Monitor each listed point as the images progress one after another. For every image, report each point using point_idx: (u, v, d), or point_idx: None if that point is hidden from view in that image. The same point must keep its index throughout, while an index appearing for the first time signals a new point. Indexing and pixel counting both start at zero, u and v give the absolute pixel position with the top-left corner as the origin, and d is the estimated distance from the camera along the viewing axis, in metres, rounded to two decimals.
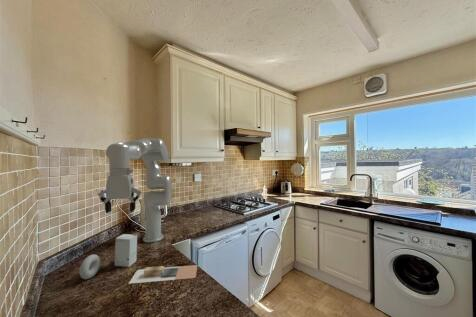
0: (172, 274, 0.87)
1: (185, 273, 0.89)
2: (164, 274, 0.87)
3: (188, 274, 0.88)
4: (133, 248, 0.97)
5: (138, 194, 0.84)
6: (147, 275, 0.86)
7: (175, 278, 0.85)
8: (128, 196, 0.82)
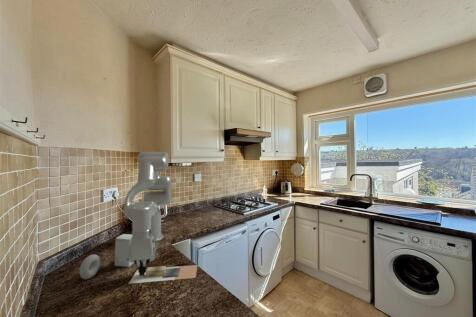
0: (174, 274, 0.87)
1: (185, 273, 0.89)
2: (166, 274, 0.87)
3: (188, 274, 0.88)
4: None
5: (151, 259, 0.87)
6: (149, 275, 0.86)
7: (175, 278, 0.85)
8: (150, 257, 0.85)
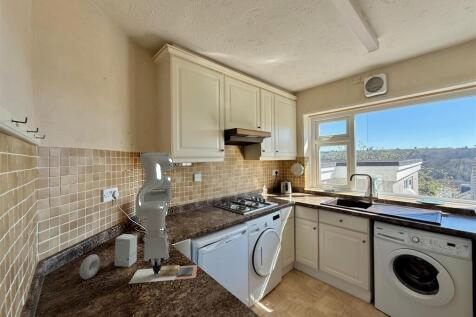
0: (188, 273, 0.87)
1: None
2: (180, 273, 0.87)
3: None
4: (133, 248, 0.97)
5: (165, 258, 0.87)
6: (163, 274, 0.87)
7: (175, 278, 0.85)
8: (165, 256, 0.86)
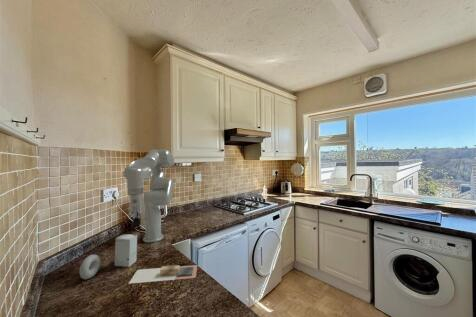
0: (188, 273, 0.87)
1: None
2: (180, 273, 0.87)
3: None
4: (133, 248, 0.97)
5: (134, 216, 0.98)
6: (163, 274, 0.87)
7: (175, 278, 0.85)
8: None
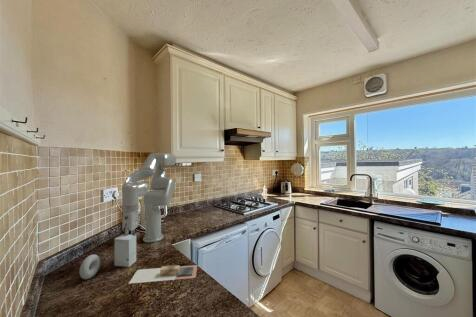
0: (188, 273, 0.87)
1: None
2: (180, 273, 0.87)
3: None
4: (132, 248, 0.96)
5: None
6: (163, 274, 0.87)
7: (175, 278, 0.85)
8: None
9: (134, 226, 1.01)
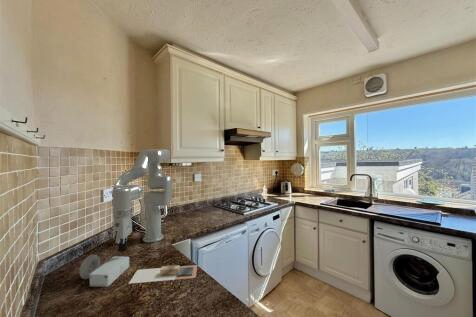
0: (188, 273, 0.87)
1: None
2: (180, 273, 0.87)
3: None
4: (116, 274, 0.85)
5: None
6: (163, 274, 0.87)
7: (175, 278, 0.85)
8: None
9: (126, 234, 0.92)
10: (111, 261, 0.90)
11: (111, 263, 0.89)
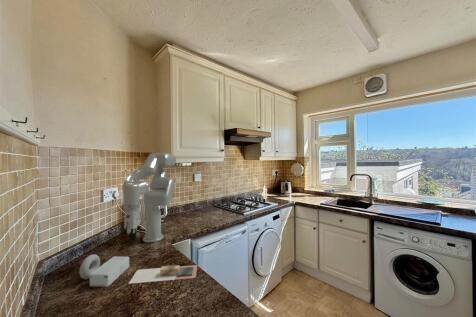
0: (188, 273, 0.87)
1: None
2: (180, 273, 0.87)
3: None
4: (116, 274, 0.85)
5: None
6: (163, 274, 0.87)
7: (175, 278, 0.85)
8: None
9: (136, 224, 1.02)
10: (111, 261, 0.90)
11: (111, 263, 0.89)
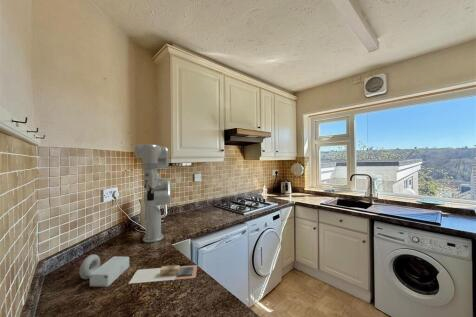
0: (188, 273, 0.87)
1: None
2: (180, 273, 0.87)
3: None
4: (116, 274, 0.85)
5: None
6: (163, 274, 0.87)
7: (175, 278, 0.85)
8: None
9: (154, 184, 1.03)
10: (111, 261, 0.90)
11: (111, 263, 0.89)
